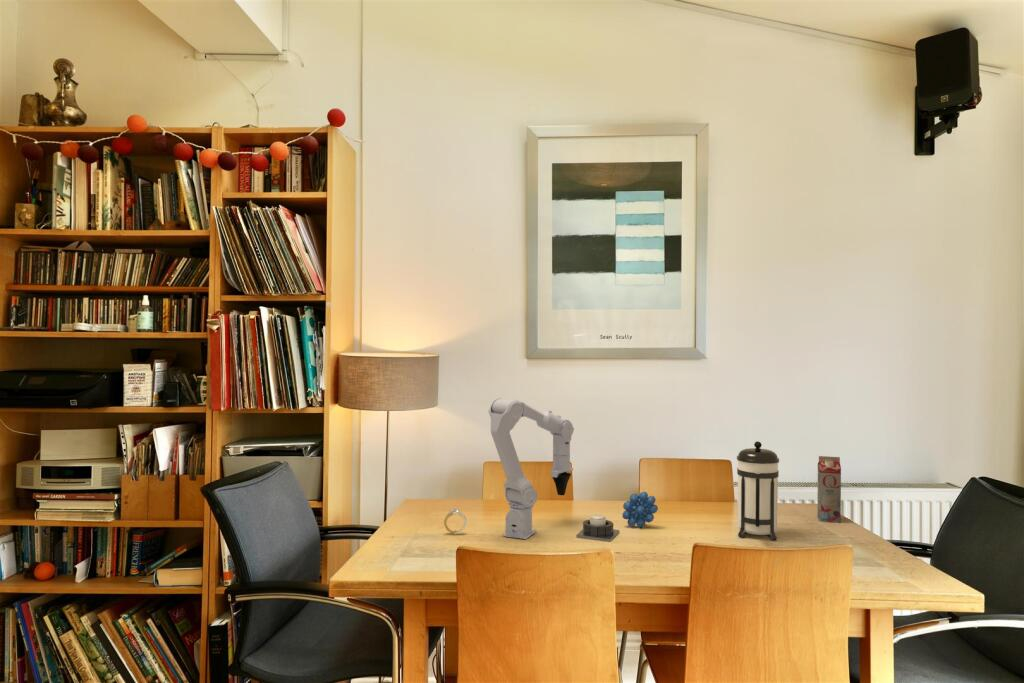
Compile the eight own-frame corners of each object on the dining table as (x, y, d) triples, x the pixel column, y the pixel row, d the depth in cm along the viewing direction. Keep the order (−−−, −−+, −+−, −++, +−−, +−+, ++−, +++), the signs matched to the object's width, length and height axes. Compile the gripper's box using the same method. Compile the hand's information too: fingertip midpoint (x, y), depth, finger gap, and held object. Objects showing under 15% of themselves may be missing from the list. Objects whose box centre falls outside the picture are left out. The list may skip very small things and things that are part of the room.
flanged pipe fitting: (610, 541, 210) (610, 529, 210) (576, 537, 214) (576, 525, 214) (619, 532, 220) (619, 520, 220) (586, 528, 224) (586, 517, 224)
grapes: (657, 524, 229) (657, 489, 229) (658, 530, 222) (658, 493, 222) (622, 523, 231) (622, 487, 231) (622, 528, 224) (622, 492, 224)
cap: (603, 535, 214) (603, 519, 214) (588, 533, 216) (587, 517, 216) (607, 530, 218) (607, 515, 218) (592, 529, 220) (592, 513, 220)
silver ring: (443, 535, 216) (443, 510, 216) (445, 532, 219) (445, 507, 219) (465, 535, 215) (465, 510, 215) (466, 533, 219) (466, 508, 219)
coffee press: (720, 531, 222) (720, 439, 222) (759, 526, 227) (760, 437, 227) (757, 546, 205) (757, 447, 205) (798, 541, 211) (799, 444, 211)
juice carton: (840, 523, 232) (841, 458, 232) (819, 521, 234) (819, 457, 234) (838, 518, 238) (838, 455, 238) (817, 516, 241) (817, 454, 240)
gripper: (565, 459, 221) (565, 500, 221) (579, 452, 234) (579, 491, 234) (545, 457, 224) (545, 498, 224) (560, 450, 237) (559, 489, 237)
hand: (561, 494), depth 229 cm, fingers closed
